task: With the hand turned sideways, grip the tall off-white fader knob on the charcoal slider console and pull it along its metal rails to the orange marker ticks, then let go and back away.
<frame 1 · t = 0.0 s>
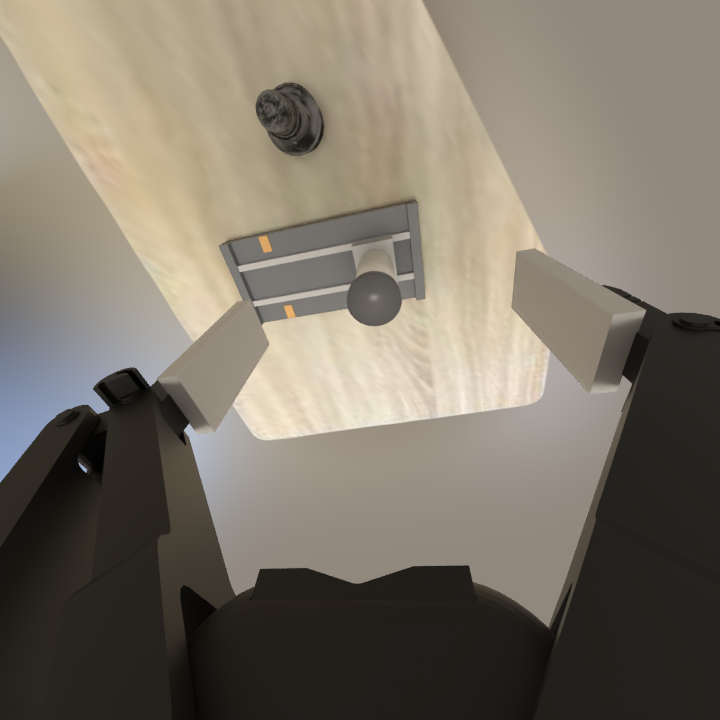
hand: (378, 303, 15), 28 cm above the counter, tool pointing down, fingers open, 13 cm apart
fader: (375, 279, 33), point 9 cm above the counter, slide at 7.0 cm
console: (328, 266, 42), on the counter
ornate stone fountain: (300, 125, 33), on the counter
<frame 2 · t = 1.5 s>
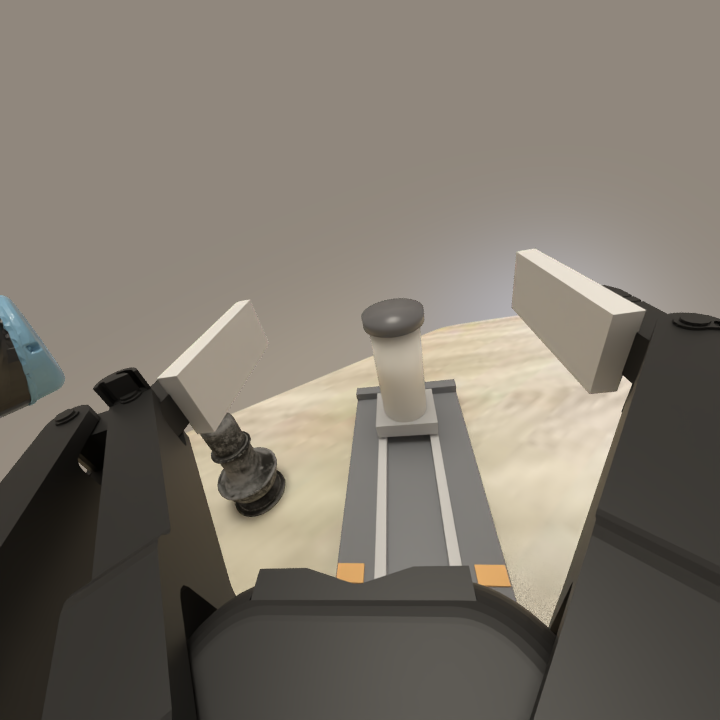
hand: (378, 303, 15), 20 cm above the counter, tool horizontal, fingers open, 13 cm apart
fader: (400, 371, 28), point 9 cm above the counter, slide at 7.0 cm
console: (413, 496, 27), on the counter
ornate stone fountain: (261, 492, 31), on the counter
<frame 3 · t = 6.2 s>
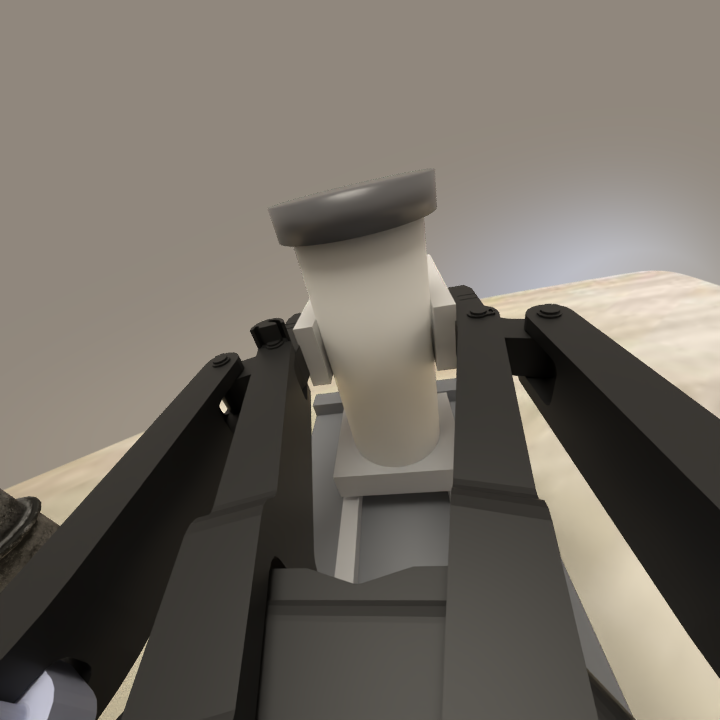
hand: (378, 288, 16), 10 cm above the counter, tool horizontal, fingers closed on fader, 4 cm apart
fader: (381, 355, 12), point 9 cm above the counter, slide at 7.0 cm, touching gripper
console: (418, 642, 12), on the counter
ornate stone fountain: (110, 610, 15), on the counter
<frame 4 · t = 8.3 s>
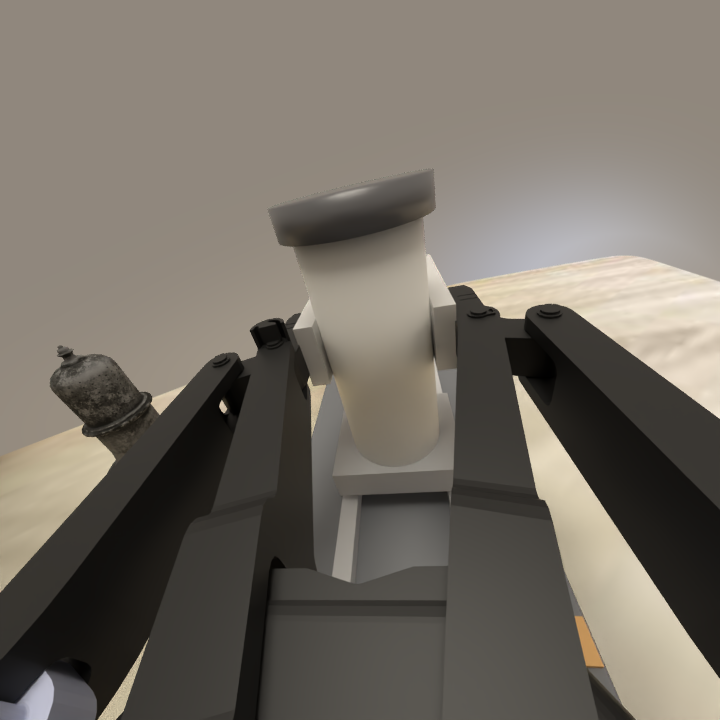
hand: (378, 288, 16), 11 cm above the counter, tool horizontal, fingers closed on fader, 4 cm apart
fader: (380, 354, 13), point 9 cm above the counter, slide at 0.2 cm, touching gripper
console: (406, 488, 17), on the counter
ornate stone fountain: (185, 487, 21), on the counter
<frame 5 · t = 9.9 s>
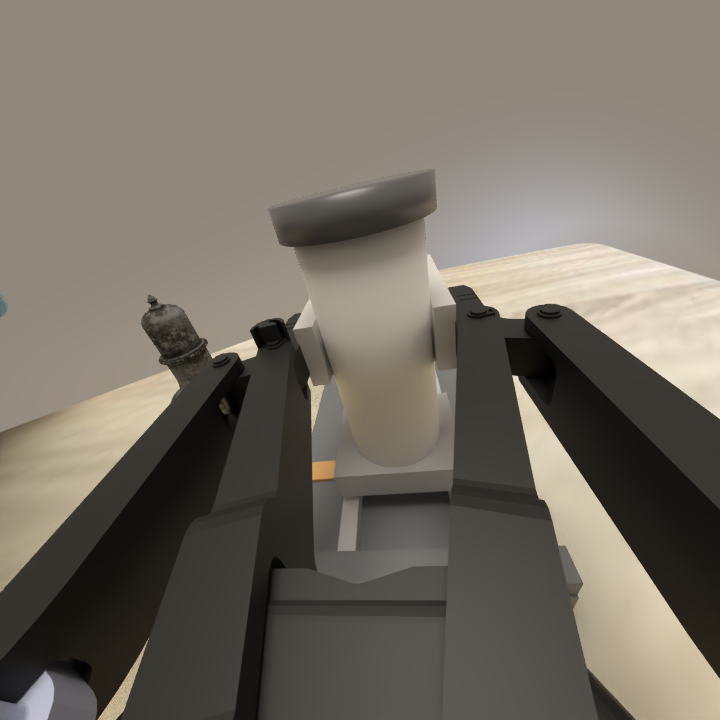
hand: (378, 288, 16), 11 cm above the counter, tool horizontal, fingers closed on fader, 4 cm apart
fader: (381, 355, 13), point 10 cm above the counter, slide at -6.9 cm, touching gripper
console: (400, 406, 23), on the counter
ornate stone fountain: (226, 419, 27), on the counter
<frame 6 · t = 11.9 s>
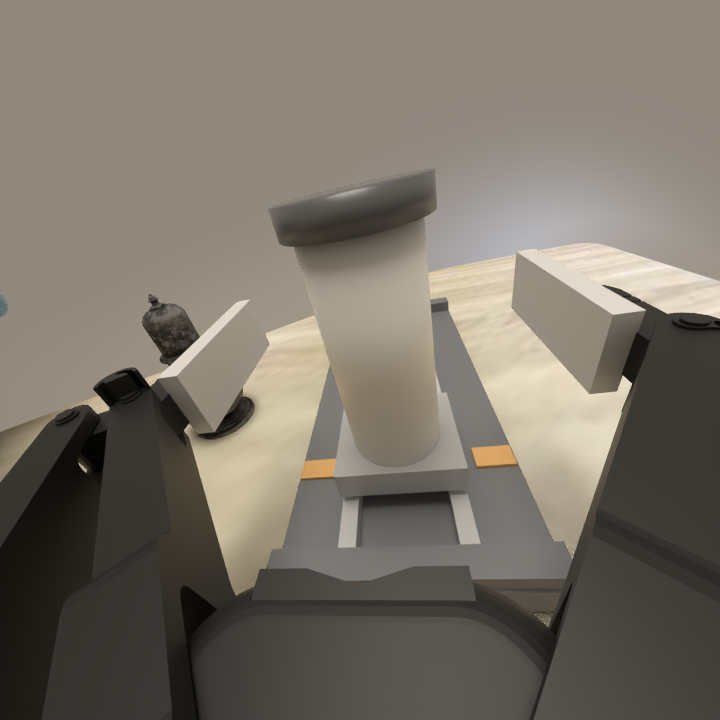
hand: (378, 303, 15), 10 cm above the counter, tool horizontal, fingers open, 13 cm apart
fader: (381, 355, 12), point 9 cm above the counter, slide at -7.0 cm
console: (400, 405, 23), on the counter
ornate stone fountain: (227, 418, 27), on the counter
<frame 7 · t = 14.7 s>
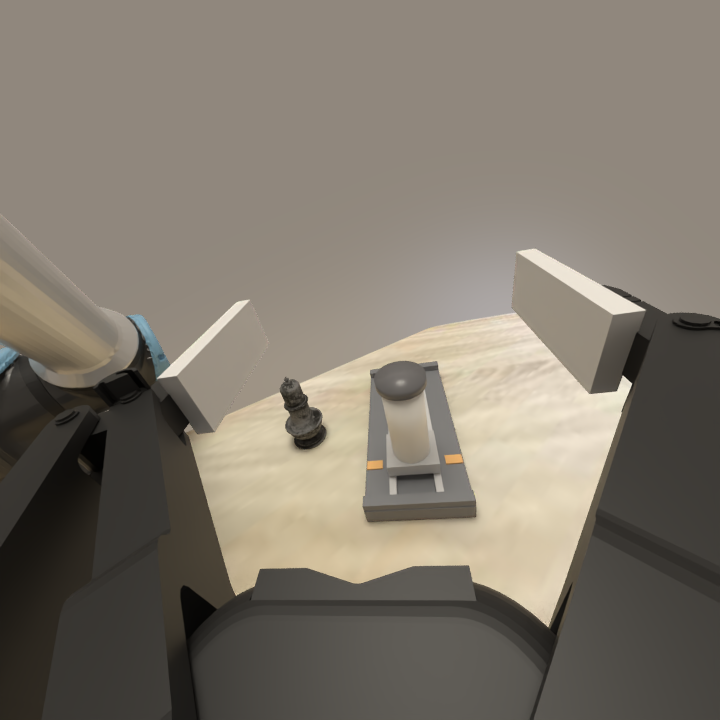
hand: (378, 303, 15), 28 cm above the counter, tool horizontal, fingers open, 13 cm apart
fader: (406, 420, 33), point 10 cm above the counter, slide at -7.0 cm
console: (410, 431, 43), on the counter
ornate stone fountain: (310, 436, 47), on the counter
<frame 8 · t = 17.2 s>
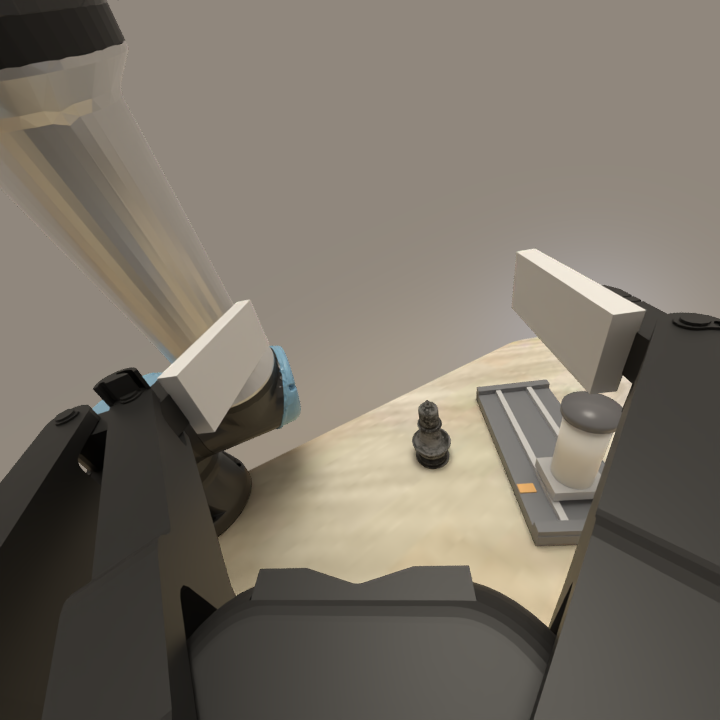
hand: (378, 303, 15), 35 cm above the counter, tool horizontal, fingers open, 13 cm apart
fader: (579, 448, 33), point 9 cm above the counter, slide at -7.0 cm
console: (540, 451, 44), on the counter
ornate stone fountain: (432, 455, 48), on the counter
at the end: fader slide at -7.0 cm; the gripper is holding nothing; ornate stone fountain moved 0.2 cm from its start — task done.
